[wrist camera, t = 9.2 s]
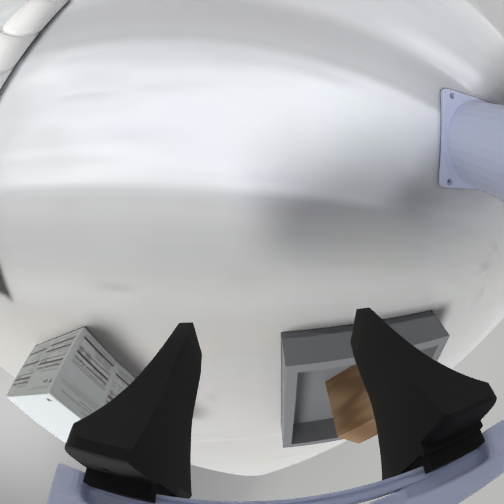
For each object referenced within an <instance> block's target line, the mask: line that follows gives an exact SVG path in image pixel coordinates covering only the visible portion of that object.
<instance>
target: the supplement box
mask: <svg viewBox="0 0 504 504" xmlns="http://www.w3.org/2000/svg"><path fill="white" fill-rule="evenodd" d="M134 380H135V378H134V377H133V376H132V375H131V374H130V373H129V372H128V371H127V370H126V369H124V368H123V367H122V366H121V365H120V364H119V363H118V362H117V361H116V360H115V359H114V358H113V357H112V356H111V355H110V354H109V353H108V352H107V351H106V350H105V349H104V348H103V347H102V346H101V345H100V344H99V342H98V341H97V340H96V339H95V338H94V337H93V336H92V335H91V334H90V333H89V332H88V330H87V329H86V328H85V327H83V328H80V329H78V330H75V331H73V332H70V333H68V334H65V335H63V336H60V337H58V338H55V339H53V340H50V341H47V342H45V343H42V344H40V345H37V346H35V347H34V348H33V350H32V352H31V353H30V355H29V356H28V358H27V360H26V361H25V363H24V365H23V367H22V368H21V370H20V372H19V374H18V375H17V377H16V379H15V381H14V383H13V384H12V386H11V388H10V390H9V392H8V394H7V396H6V397H8V398H9V399H10V400H11V401H12V402H13V403H14V404H15V405H16V406H18V407H19V408H20V409H21V410H22V411H23V412H25V413H26V414H27V415H28V416H29V417H31V418H32V419H33V420H34V421H36V422H37V423H38V424H40V425H41V426H42V427H43V428H45V429H46V430H47V431H49V432H50V433H52V434H53V435H54V436H56V437H57V438H59V439H60V440H62V441H63V442H65V443H66V442H67V439H68V436H69V433H70V431H71V428H72V426H73V424H74V423H75V422H77V421H79V420H81V419H83V418H84V417H86V416H88V415H90V414H92V413H93V412H95V411H96V410H98V409H100V408H101V407H103V406H104V405H105V404H107V403H108V402H110V401H111V400H112V399H113V398H115V397H116V396H117V395H118V394H120V393H121V392H122V391H123V390H124V389H125V388H126V387H128V386H129V385H130V384H131V383H132V382H133V381H134Z"/></svg>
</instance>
